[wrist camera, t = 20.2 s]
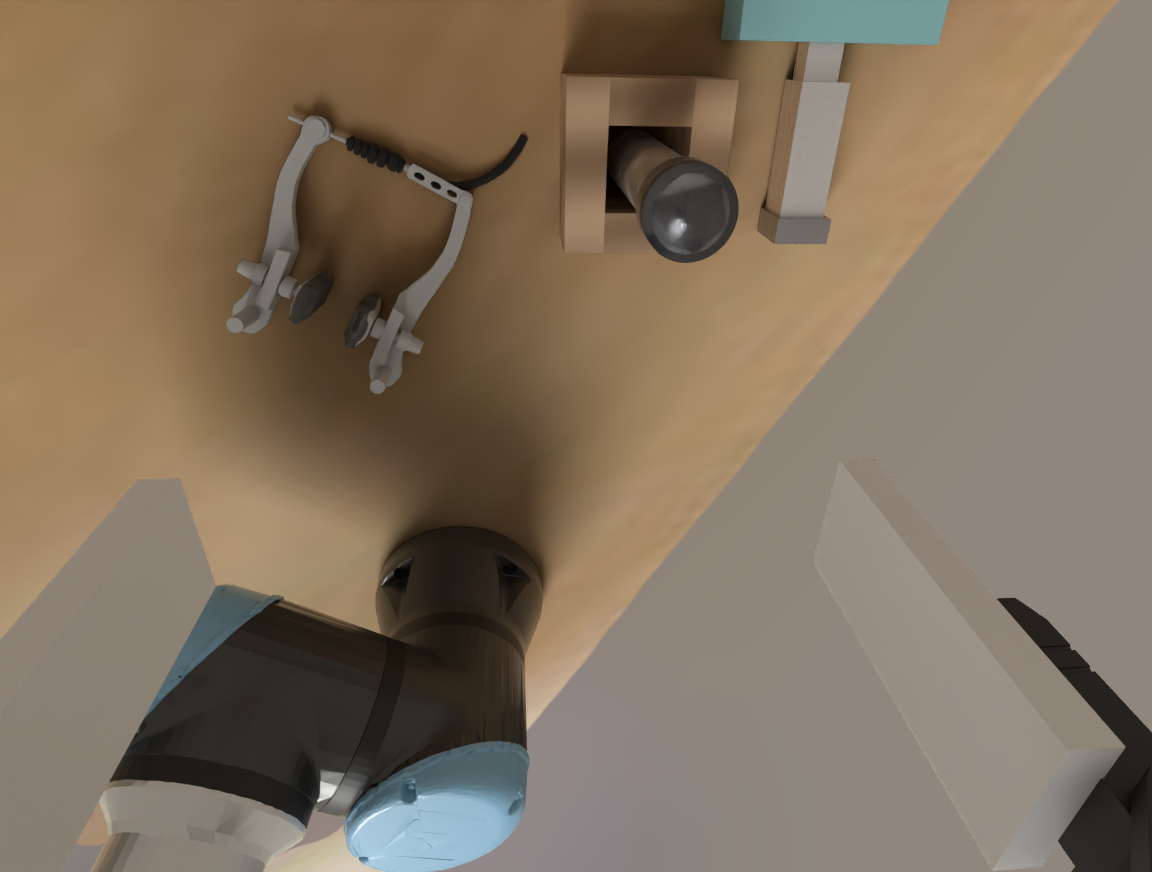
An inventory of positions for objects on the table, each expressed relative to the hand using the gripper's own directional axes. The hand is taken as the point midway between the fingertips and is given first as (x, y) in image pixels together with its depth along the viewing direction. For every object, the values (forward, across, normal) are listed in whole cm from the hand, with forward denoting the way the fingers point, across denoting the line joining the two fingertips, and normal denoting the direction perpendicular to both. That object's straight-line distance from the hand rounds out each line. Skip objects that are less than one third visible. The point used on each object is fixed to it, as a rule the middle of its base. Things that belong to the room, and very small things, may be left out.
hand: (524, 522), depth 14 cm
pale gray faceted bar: (+36, -19, -4) cm, 41 cm away
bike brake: (+37, +10, +2) cm, 39 cm away
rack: (+37, -8, -2) cm, 38 cm away
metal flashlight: (+37, -8, -2) cm, 38 cm away
